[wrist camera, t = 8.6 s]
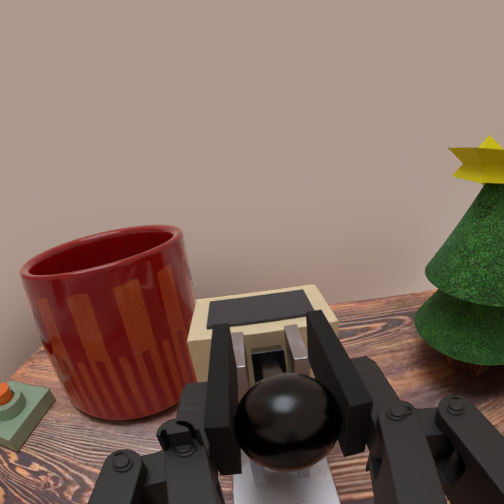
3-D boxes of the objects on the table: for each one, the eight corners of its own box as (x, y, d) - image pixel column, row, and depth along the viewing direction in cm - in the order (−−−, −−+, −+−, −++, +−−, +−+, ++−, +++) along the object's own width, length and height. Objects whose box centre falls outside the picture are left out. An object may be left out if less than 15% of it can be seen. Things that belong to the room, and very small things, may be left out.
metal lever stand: (339, 509, 20) (360, 388, 15) (236, 524, 19) (192, 412, 15) (313, 423, 31) (311, 299, 27) (233, 434, 31) (206, 312, 26)
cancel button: (4, 408, 28) (-1, 399, 27) (-9, 404, 28) (-15, 394, 28) (17, 394, 31) (12, 384, 31) (3, 390, 32) (-2, 381, 31)
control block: (17, 452, 25) (1, 430, 24) (-22, 433, 25) (-36, 413, 24) (55, 399, 36) (44, 378, 35) (15, 390, 37) (5, 371, 36)
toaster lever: (356, 477, 7) (350, 374, 8) (240, 497, 7) (222, 394, 8) (294, 381, 22) (288, 335, 23) (246, 387, 22) (240, 341, 23)
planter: (206, 328, 56) (186, 216, 50) (215, 418, 34) (178, 256, 28) (89, 343, 52) (58, 240, 47) (50, 426, 31) (-15, 288, 25)
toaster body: (332, 439, 28) (338, 317, 24) (219, 455, 28) (185, 337, 24) (317, 393, 36) (314, 281, 32) (220, 406, 36) (196, 296, 31)
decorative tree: (420, 414, 28) (448, 123, 20) (400, 330, 46) (402, 135, 38) (544, 390, 23) (590, 143, 15) (498, 321, 41) (512, 141, 32)
